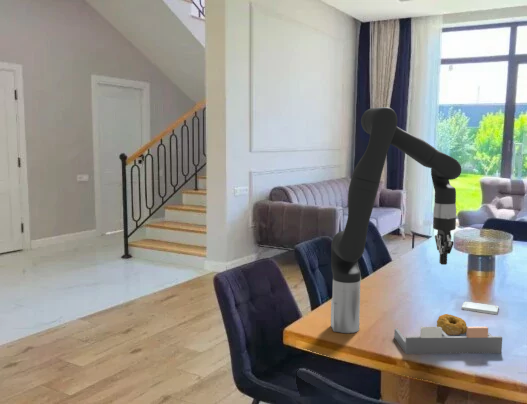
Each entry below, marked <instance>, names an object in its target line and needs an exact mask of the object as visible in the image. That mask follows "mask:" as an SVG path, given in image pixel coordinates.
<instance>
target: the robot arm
mask: <svg viewBox="0 0 527 404" xmlns="http://www.w3.org/2000/svg"><path fill="white" fill-rule="evenodd" d="M360 124H361V127H362V129H363V131H364V132H365V133H367V134H368V135H369V140H368V143H367V144H368V145H367V147H366V149H365V152H364V153H363V155H362V157H360V160H359V161H358V163H357V164H356V166H355V168H354V169H353V172H352V175H351V179H350V183H349V186H348V192H347V193H348V194H347V220H346V224H345V228H344V229H343V230H341V231H339V232H337V233H335V235H333V236H332V237H333V238H332V240H331V245H330V261H331V262H330V263H331V264H330V265H331V272H332V297H331V300H330V302H331V303H330V327H331V329H332V331H333V332H337V333H342V334H354V333H357V332H359V330H360V326H361V325H360V324H361V323H360V319H361V318H360V317H361V316H360V314H361V311H360V310H361V281H362V280H361V278H362V277H361V275H362V274H361V270H360V268H359V265H358V264H359V263H358V260H359V259H361V258H362V256H363V254H364V252H365V248H366V243H367V236H368V229H369V223H370V220H371V216H372V213H373V209H374V205H375V201H376V198H377V194H378V191H379V187H380V183H381V179H382V178H381V177H382V174H383V170H384V167H385V164H386V163H385V162H386V158H387V155H388V152H389V148H390V146H392V147H394V148H396V149H397V150H399V151H401V152H403V154H406V155H407V156H408V157H410V158H411V159H413V160H414V161H415V162H417V163H418V164H420V165H421V166H423V167H426V168H429V169H430V173H431V174H430V175H431V182H432V184H433V186H432V187H433V189H434V204H433V214H432V215H433V217H432V220H433V222H432V223H433V224H432V229H434V230H437V233H436V234H435V235H434V239H435V244H436V249H437V251H438V253H439V259H438V260H439V264H440V265H441V266H442V265H447V264H448V254H451V252H452V249H453V246H454V244H455V243H454V241H453V240H452V234H451V232H452V231H454V230H456V227H457V224H456V223H457V206H456V205H457V191H456V188H455V187H454V186H452V185H451V183H450V180H455V179H457V178H458V177H460V175H461V173H462V166H461V164H460V162H459V161H458V160H457V159H456V158H454V157H452V156H451V155H449V154H446V153H444V152H443V151H440V150H438V149H436V148H435V147H434V146H432V145H431V144H430V143H429V142H426V141H425V140H424V139H422V138H420V137H419V136H416V135H414V134H411V133H410V132H407V131H406V130H403V129H402V128H400V127H398V116H397V113H396V112H395V110H394V109H392V108H391V107H387V106H386V107H385V106H384V107H380V106H379V107H373V108H369V109H367V110H365V111H364V113H363V114H362V116H361V119H360Z"/></svg>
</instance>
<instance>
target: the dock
mask: <svg viewBox="0 0 527 404" xmlns="http://www.w3.org/2000/svg"><path fill="white" fill-rule="evenodd" d="M419 333H420V336H405V335H403V334H402V332H401V331H400V330H399V329H398V328H394V333H393V334H394V335H393V336H394V339H395V341H396V343H398V345H399V346H400V348H401V349H402V350H403V352H404V353H405V354H406V355H427V354H428V355H429V354H430V355H431V354H432V355H436V354H437V355H438V354H440V355H441V354H444V355H446V354H447V355H448V354H451V355H452V354H454V355H455V354H502V350H503V347H502V346H503V336H501V335H492V334H491V333H490V332H489V327H488V326H467V332H466V335H465V336H460V335H452V336H450V335H447V334H446V333H445V332H444V331H443V330H442V328H441V327H437V326H420V332H419Z"/></svg>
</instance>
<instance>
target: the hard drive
mask: <svg viewBox="0 0 527 404" xmlns="http://www.w3.org/2000/svg"><path fill="white" fill-rule="evenodd" d="M499 308H500V306H499V305H494V304H486V303H477V302H471V301H464V302H463V303H462V306H461V310H462V309H464V311H469V310H470V312H476V311H477V313H483V314H491V315H497V316H498V313H499Z"/></svg>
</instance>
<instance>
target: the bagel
mask: <svg viewBox="0 0 527 404" xmlns="http://www.w3.org/2000/svg"><path fill="white" fill-rule="evenodd" d="M436 327H441V328H442V330H443V331H444V332H445V333H446V334H447V335H448V336H460V335H464V334H465V333H467V327H468V326H467V323H466V321H465V319H463V318H462V317H458V316H455V315H453V314H449V313H444V314H441V315H439V316H438V318H437V320H436Z"/></svg>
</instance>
